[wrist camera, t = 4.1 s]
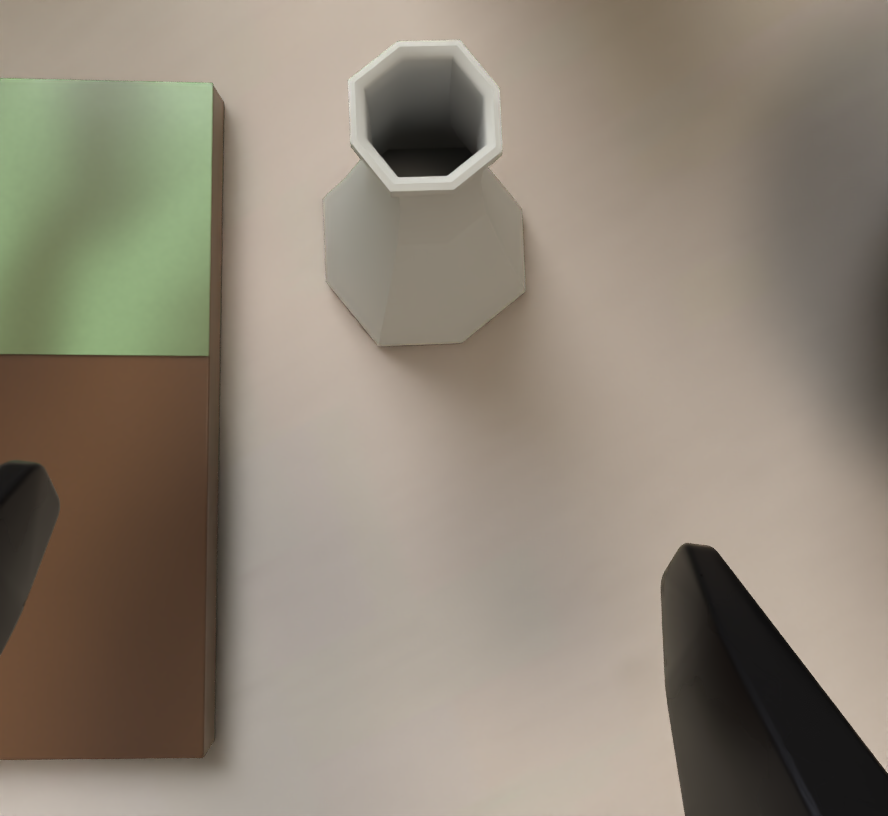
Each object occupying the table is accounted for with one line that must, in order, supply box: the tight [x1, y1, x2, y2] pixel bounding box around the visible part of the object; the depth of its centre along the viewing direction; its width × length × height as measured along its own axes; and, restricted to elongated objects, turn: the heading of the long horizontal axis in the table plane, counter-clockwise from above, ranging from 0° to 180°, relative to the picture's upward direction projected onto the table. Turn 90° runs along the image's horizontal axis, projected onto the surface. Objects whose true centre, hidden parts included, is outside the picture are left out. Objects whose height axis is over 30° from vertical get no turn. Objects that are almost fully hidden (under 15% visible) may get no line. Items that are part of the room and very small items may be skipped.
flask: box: [323, 40, 526, 346], centre depth 18 cm, size 7×7×10 cm
